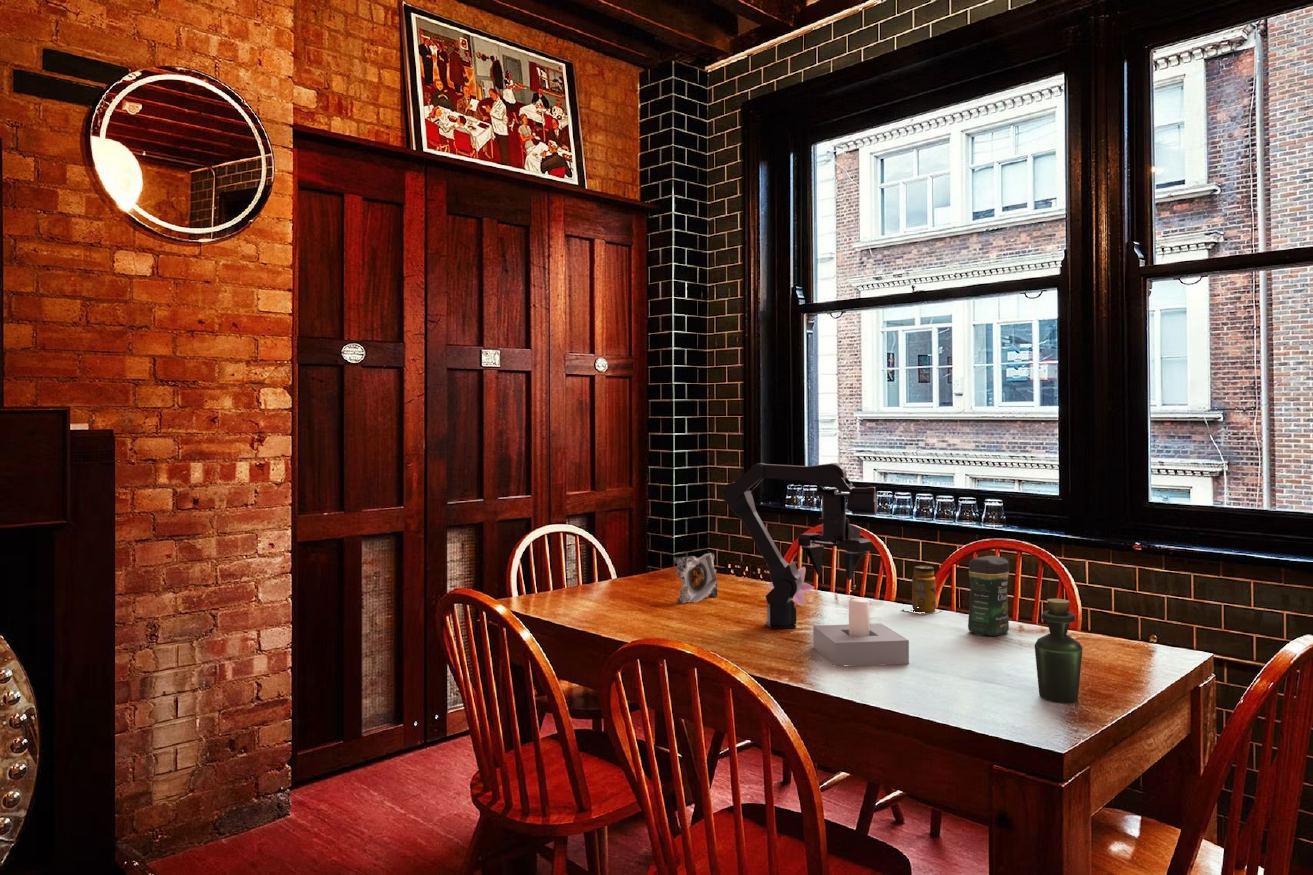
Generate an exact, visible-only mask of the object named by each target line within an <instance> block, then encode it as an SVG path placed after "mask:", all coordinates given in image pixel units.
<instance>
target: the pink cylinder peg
mask: <svg viewBox="0 0 1313 875" xmlns="http://www.w3.org/2000/svg"><path fill="white" fill-rule="evenodd" d="M848 624H849V636H850V637H854V636H870V624H871V623H870V600H868V599H864V598H852V599H848Z"/></svg>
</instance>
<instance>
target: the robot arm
mask: <svg viewBox="0 0 1313 875" xmlns="http://www.w3.org/2000/svg"><path fill="white" fill-rule="evenodd" d="M847 476H848V473H847V469H846V468H845V467H844V466H843V465H842V464H841V463H837V462H833V463H824V464H822V463H821V464H816V465H815V464H814V465H794V464H793V465H791V464H774V463H773V464H771V463H764V462H760V463H759V462H758V463H755V464H753V465H752V466H751V468H749V470H748V471H746V472H745V473H744V474H742V475H741V476H740V477H739V478H738V479H736V481H733V482H729V483H728V484H726V485H725V486H724V487H723V489H722V493H721V495H722V500H723V501H724V502H725V504H726V505H727V506H728V507H729V509H730V510H731V511H732V512H733V513H735V514H736V515H737V516H738V517H739V518H740V520H741V521H742V523H743V524H744V526H745V528H746V530H747V531H748V534H749V535H750V537H751V539H752V541H753V542H754V545H755V546H756V548H757V550H758V551H759V553H760V555H761V557H762V558H763V560H764V562H765V563H766V565H767V567H768V571H769V576H770V577H769V578H770V580H771V583H773V586H774V588H773V589H770V591H769V592H768V593H767V594H766V595H765V599H766V606H767V607H766V611H767V612H766V615H767V616H766V617H767V618H766V619H767V620H766V621H765V624H766V626H768V627H769V628H770V629H772V630H773V629H796V628H797V625H796V624H797V607H795V601H793V600H792V599H793V597H794V595H795V594H796V593H797V592H798V591H799V590H800V589H801V586H802V580H801V576H802V574H801V573H799V571H798V568H797V565H796V563H795V561H792V562H791V563H789V562H787V561H786V560H785V559H784V557H783V556H782V554H781V552H780V551H779V549H778V547H777V545H776V544H775V541H774V540H773V538H772V537H771V535H770V533H769V531H768V529H767V527H766V526H765V524H764V522H763V520H762V519H761V517H760V516H759V514H758V512H757V510H756V505H755V501H754V498H753V493H752V491H753V490H754V489H755V488H756V487H758V485H759V484H760V483H761V482H762V481H763V480H764V479H765V480H781V481H782V480H783V481H799V482H800V481H801V482H807V483H813V484H816V485H819V487H818V488H817V490H816V491H815V492H814V493H813V495H814V496H815V497H821V517H819V518H818V524H819V523H821V533H815V532H808V533H800V535H799V536H798V538H797V546H799V547H801V550H804V552H805V554H806V555H807V557H808V559H809V560H810V563H811V564H812V567H813V569H814V572H815V573H816V575H817V576H821V575H822V571H823V567H822V565H823V561H822V559H823V552H824V549H825V548H826V546H831V547H837V548H844V550H845V551H844V552H843V560H844V565H845V566H844V567H845V575H846V579H847V580H848V581H851V580H852V579H853V576H854V573H855V570H856V568H857V565H858V563H859V560H860V559H861V557H863V555H868V554H867V553H868V552H871V551H872V550H873V543H872V542H871V539H869V538H863V537H861V531H862V529H861V528H859V527H858V526H857V527H856V526H855V525H853V524H850V517H846V512H847V511H849V512H851V514H852V516H853V515H854V516H855V515H857V516H876V515H877V513H878V499H877V492H876V487H875V486H869V487H855V486H854V485H853V483H852V482H851V481H850V479H849V478H848V477H847ZM825 487H827V488H825ZM838 491H840V492H838ZM846 497H847V498H846ZM846 499H847V502H846ZM846 506H847V508H846ZM846 509H847V510H846Z"/></svg>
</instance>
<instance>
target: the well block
mask: <svg viewBox="0 0 1313 875" xmlns="http://www.w3.org/2000/svg"><path fill="white" fill-rule="evenodd" d="M812 631H813V634H812V635H813V637H812V640H813V646H812V647H813V649H814V650H815V651H816V652H817V653H819V654H820V655H821V656H823V657H824V658H825V659H826V660H827V661H828V662H830V664H831V665H833V666H834V665H835V666H840V667H845V666H844V665H865V666H882V665H881V664H891V665H909V664H910V640H909V639H907V638H906V637H905V636H903V635H901V634H899V633H898V632H896V631H895V630H893V629H891V628H890V627H888V626H887V625H885V624H883V623H881V622H879V623H870V636H854V637H850V636H849V623H847V624H829V625H828V624H827V625H825V624H823V625H821V624H820V625H813V630H812ZM835 666H834V667H835Z"/></svg>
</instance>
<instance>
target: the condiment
mask: <svg viewBox="0 0 1313 875" xmlns="http://www.w3.org/2000/svg"><path fill="white" fill-rule="evenodd" d="M911 584H912V588H911V589H912V591H911V593H912V594H911V595H912V596H911V597H912V600H911V602H912V604H911V606H912V607H911V608H913V609H914V610H913V612H914V611H915V612H925V613H921V614H919V615H921V616H922V615H929V614H935V613H941V612H942V610H941V609H940V611H941V612H940V611H938V610H939V609H936V602H937V601H936V597H937V596H936V577H935V568H934V567H933V566H931V565H916V566H914V567H913V576H912V577H911ZM917 607H919V608H917ZM902 609H903V610H904V609H905V608H902ZM903 610H902V611H903Z"/></svg>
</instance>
